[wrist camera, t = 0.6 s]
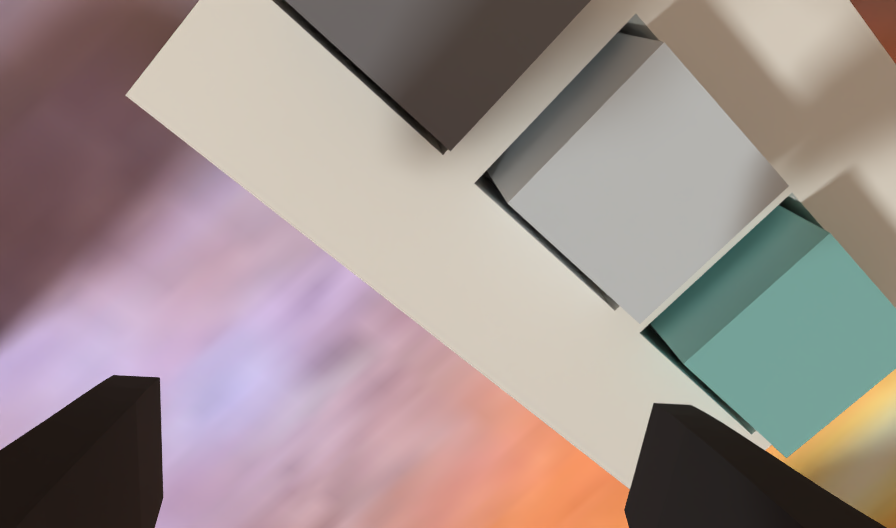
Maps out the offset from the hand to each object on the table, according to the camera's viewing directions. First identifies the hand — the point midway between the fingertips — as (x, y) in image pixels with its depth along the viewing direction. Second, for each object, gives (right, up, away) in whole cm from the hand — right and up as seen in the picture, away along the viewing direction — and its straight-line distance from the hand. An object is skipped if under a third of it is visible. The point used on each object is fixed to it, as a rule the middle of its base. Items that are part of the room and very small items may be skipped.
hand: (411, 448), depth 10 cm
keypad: (+4, +6, +8) cm, 11 cm away
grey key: (+4, +5, +6) cm, 9 cm away
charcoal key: (0, +9, +4) cm, 10 cm away
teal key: (+8, +2, +8) cm, 12 cm away
